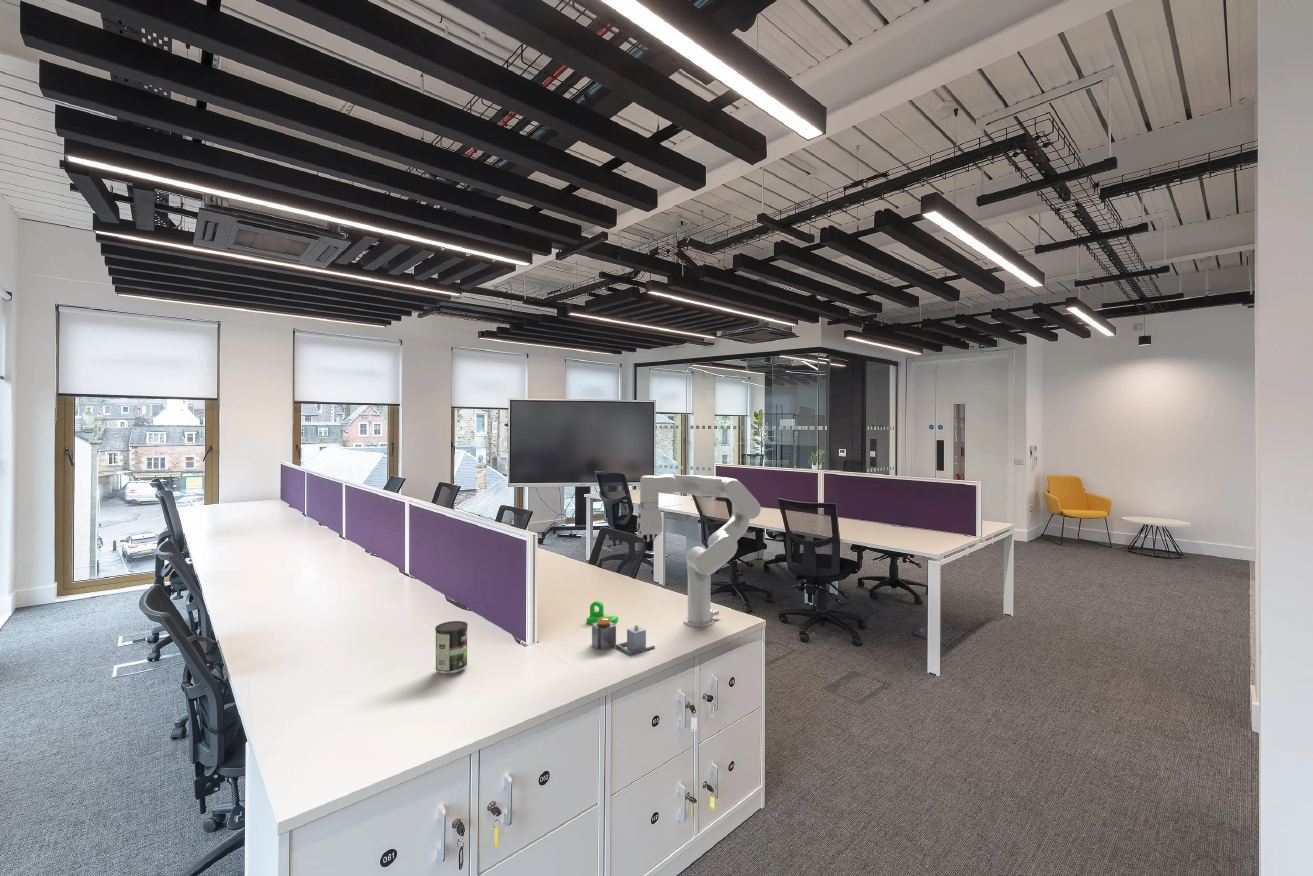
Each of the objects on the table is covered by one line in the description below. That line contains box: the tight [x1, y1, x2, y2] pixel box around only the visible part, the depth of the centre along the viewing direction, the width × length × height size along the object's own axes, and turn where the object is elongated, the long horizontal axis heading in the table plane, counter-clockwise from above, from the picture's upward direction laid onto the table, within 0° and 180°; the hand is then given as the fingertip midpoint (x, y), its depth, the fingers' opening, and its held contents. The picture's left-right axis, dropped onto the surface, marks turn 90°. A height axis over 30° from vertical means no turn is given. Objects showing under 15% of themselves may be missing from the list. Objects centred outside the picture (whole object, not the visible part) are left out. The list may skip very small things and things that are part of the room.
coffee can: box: [434, 620, 469, 674], centre depth 183 cm, size 10×10×14 cm
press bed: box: [611, 641, 656, 657], centre depth 199 cm, size 13×12×2 cm
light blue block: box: [626, 624, 647, 651], centre depth 199 cm, size 5×5×8 cm
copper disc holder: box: [591, 622, 617, 651], centre depth 202 cm, size 8×8×8 cm
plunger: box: [598, 617, 610, 627], centre depth 202 cm, size 5×5×8 cm
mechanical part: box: [586, 600, 619, 625], centre depth 229 cm, size 12×6×8 cm, turn 77°
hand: (649, 550), depth 220 cm, fingers closed
